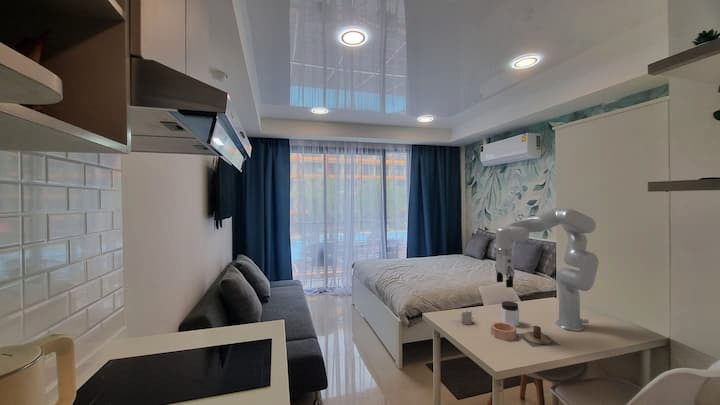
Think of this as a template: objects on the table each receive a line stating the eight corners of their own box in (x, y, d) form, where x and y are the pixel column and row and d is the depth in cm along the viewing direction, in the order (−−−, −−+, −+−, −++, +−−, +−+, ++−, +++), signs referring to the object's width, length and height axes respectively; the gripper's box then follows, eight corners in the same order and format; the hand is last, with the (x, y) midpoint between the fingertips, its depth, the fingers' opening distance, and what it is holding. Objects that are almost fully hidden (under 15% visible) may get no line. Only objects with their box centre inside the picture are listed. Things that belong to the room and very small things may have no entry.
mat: (541, 333, 160) (541, 332, 160) (560, 346, 146) (560, 345, 146) (515, 334, 159) (515, 333, 159) (532, 348, 145) (532, 346, 145)
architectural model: (459, 322, 177) (459, 310, 177) (471, 322, 178) (471, 309, 177) (462, 325, 174) (461, 312, 173) (473, 324, 174) (473, 311, 174)
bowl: (508, 331, 164) (507, 321, 163) (520, 340, 153) (520, 330, 152) (487, 332, 163) (487, 323, 163) (498, 342, 152) (498, 332, 152)
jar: (512, 329, 165) (512, 307, 165) (498, 324, 172) (498, 303, 172) (521, 325, 170) (521, 303, 170) (507, 320, 177) (507, 299, 177)
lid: (540, 333, 159) (540, 321, 159) (557, 344, 147) (557, 331, 147) (518, 334, 158) (518, 322, 158) (533, 345, 146) (533, 333, 146)
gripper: (520, 254, 151) (521, 289, 151) (502, 248, 168) (503, 279, 168) (505, 254, 151) (506, 289, 151) (489, 249, 168) (489, 280, 168)
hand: (504, 284), depth 160 cm, fingers open, 9 cm apart
